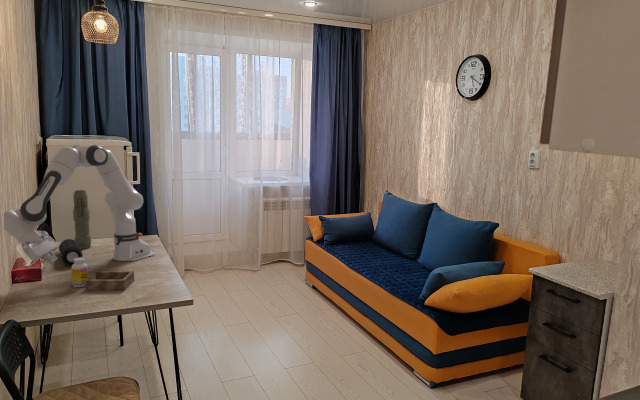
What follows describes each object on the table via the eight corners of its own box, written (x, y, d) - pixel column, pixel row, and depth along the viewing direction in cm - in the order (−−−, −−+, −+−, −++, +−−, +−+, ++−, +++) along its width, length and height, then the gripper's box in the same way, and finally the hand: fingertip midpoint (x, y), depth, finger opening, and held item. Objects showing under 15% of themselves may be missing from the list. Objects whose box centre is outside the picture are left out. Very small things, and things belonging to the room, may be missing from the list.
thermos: (90, 244, 298) (87, 189, 292) (91, 249, 287) (88, 191, 282) (74, 246, 294) (71, 189, 288) (75, 250, 283) (72, 192, 278)
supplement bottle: (81, 288, 220) (80, 261, 218) (69, 287, 221) (67, 260, 219) (91, 283, 226) (90, 257, 224) (79, 282, 228) (77, 256, 226)
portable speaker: (59, 256, 271) (58, 239, 270) (78, 254, 276) (77, 237, 275) (62, 268, 250) (61, 249, 248) (83, 265, 255) (82, 247, 254)
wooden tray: (85, 290, 217) (85, 280, 217) (97, 280, 231) (96, 271, 230) (125, 290, 219) (124, 280, 218) (134, 280, 233) (134, 271, 232)
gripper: (24, 240, 208) (49, 262, 211) (47, 230, 228) (69, 250, 231) (14, 250, 209) (39, 271, 211) (38, 239, 229) (60, 259, 231)
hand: (55, 260), depth 221 cm, fingers closed
